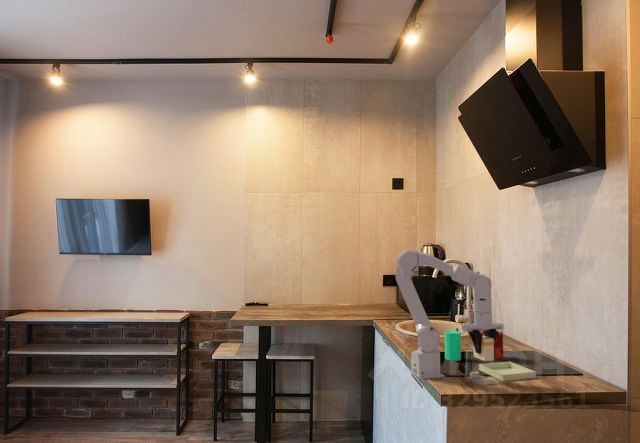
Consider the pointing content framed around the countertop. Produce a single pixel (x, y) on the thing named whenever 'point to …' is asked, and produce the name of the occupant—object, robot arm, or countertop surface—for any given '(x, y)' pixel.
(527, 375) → the tray
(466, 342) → the countertop surface
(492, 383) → the fuse holder
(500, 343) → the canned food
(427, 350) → the robot arm
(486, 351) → the block
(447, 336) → the candle
